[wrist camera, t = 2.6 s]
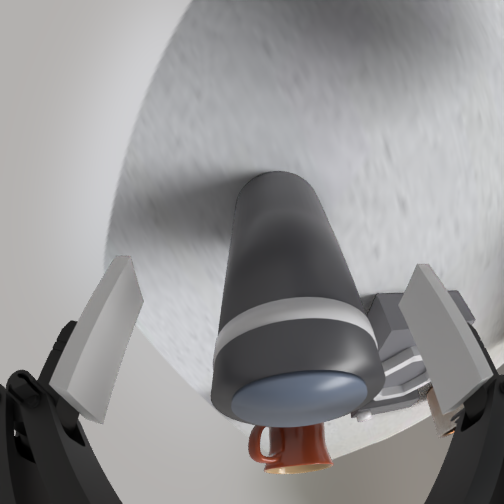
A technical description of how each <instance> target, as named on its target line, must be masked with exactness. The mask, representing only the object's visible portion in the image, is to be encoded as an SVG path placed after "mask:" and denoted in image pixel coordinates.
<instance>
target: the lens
mask: <svg viewBox="0 0 504 504" xmlns="http://www.w3.org/2000/svg"><path fill="white" fill-rule="evenodd" d="M213 370H214V372H213V381H212V390H211V401H212V403H213V405H214V406H215V408H216V409H217V410H218V411H220V412H221V413H222V414H224V415H226V416H228V417H230V418H232V419H235V420H237V421H240V422H244V423H248V424H252V425H258V426H267V427H300V426H308V425H313V424H318V423H322V422H326V421H330V420H333V419H336V418H339V417H342V416H344V415H347V414H349V413H351V412H354V411H356V410H357V409H359V408H361V407H363V406H364V405H366V404H367V403H369V402H370V401H371V400H373V399H374V398H375V397H376V396H377V395H378V394H379V393H380V391H381V390H382V388H383V387H384V385H385V381H386V378H385V373H384V369H383V366H382V362H381V359H380V356H379V353H378V345H377V341H376V338H375V335H374V332H373V329H372V326H371V324H370V321H369V320H368V318H367V316H366V313H365V311H364V308H363V305H362V302H361V299H360V297H359V294H358V291H357V289H356V286H355V283H354V281H353V278H352V276H351V273H350V271H349V268H348V266H347V263H346V261H345V258H344V256H343V253H342V251H341V249H340V246H339V244H338V241H337V239H336V237H335V234H334V232H333V230H332V228H331V225H330V223H329V221H328V219H327V216H326V214H325V212H324V210H323V208H322V205H321V203H320V201H319V199H318V197H317V195H316V193H315V191H314V189H313V188H312V187H311V185H310V184H309V183H308V182H307V181H305V180H304V179H303V178H301V177H299V176H298V175H295V174H293V173H289V172H282V171H274V172H268V173H264V174H262V175H259V176H257V177H255V178H254V179H252V180H251V181H250V182H248V183H247V184H246V185H245V187H244V188H243V189H242V191H241V192H240V194H239V197H238V199H237V203H236V209H235V216H234V222H233V229H232V236H231V242H230V249H229V256H228V263H227V270H226V278H225V285H224V292H223V300H222V307H221V315H220V323H219V331H218V337H217V339H216V343H215V350H214V358H213Z"/></svg>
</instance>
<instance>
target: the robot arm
mask: <svg viewBox="0 0 504 504" xmlns="http://www.w3.org/2000/svg"><path fill="white" fill-rule="evenodd" d="M143 302H144V301H143V297H142V294H141V291H140V287H139V284H138V281H137V277H136V274H135V270H134V266H133V263H132V259H131V256H116V257H115V258H114V260H113V261H112V263H111V264H110V266H109V268H108V269H107V271H106V273H105V274H104V276H103V278H102V279H101V281H100V283H99V284H98V286H97V288H96V290H95V291H94V293H93V295H92V297H91V298H90V300H89V302H88V304H87V305H86V307H85V309H84V311H83V313H82V315H81V317H80V318H79V320H78V322H77V321H70V322H69V323H68V324H67V325H66V326H65V327H64V328H63V329H62V330H61V332H60V334H59V336H58V338H57V342H55V344H54V346H53V350H52V351H51V352H50V354H49V356H48V358H47V360H46V363H45V365H44V367H43V369H42V371H41V374H40V376H39V378H38V380H35V378H34V377H33V376H32V375H31V374H30V373H29V372H28V371H25V370H18V371H16V372H14V373H13V374H12V375H11V376H10V378H9V379H8V382H7V384H6V389H5V388H4V387H3V386H2V385H1V384H0V504H122V502H121V501H120V499H119V497H118V496H117V494H116V493H115V491H114V489H113V488H112V486H111V484H110V483H109V481H108V479H107V477H106V475H105V474H104V472H103V470H102V468H101V466H100V464H99V462H98V460H97V458H96V456H95V454H94V452H93V450H92V448H91V446H90V444H89V442H88V439H87V437H86V435H85V433H84V430H83V428H82V425H81V423H80V422H79V420H78V416H79V413H80V414H81V415H82V416H83V417H84V418H86V419H88V420H90V421H94V422H97V423H100V424H103V422H104V418H105V415H106V411H107V407H108V404H109V401H110V397H111V394H112V391H113V387H114V384H115V381H116V378H117V375H118V372H119V368H120V365H121V362H122V359H123V356H124V354H125V350H126V348H127V345H128V342H129V339H130V337H131V334H132V331H133V328H134V326H135V323H136V320H137V318H138V315H139V313H140V310H141V307H142V305H143ZM398 306H399V308H400V310H401V312H402V314H403V316H404V318H405V320H406V323H407V325H408V327H409V329H410V331H411V334H412V336H413V338H414V340H415V343H416V345H417V347H418V350H419V352H420V355H421V357H422V360H423V362H424V365H425V367H426V370H427V372H428V375H429V377H430V380H431V383H432V386H433V388H434V391H435V394H436V397H437V400H438V403H439V406H440V409H441V412H442V415H443V414H446V413H448V412H451V411H454V410H455V409H457V408H458V407H459V406H460V405H461V404H463V405H464V408H463V409H461V410H460V411H459V412H458V413H456V414H455V415H454V416H453V417H452V418H451V420H450V421H453V420H455V419H456V418H457V417H459V418H458V419H457V420H456V421H455V422H454V423H456V424H457V425H456V429H455V432H454V435H453V438H452V441H451V444H450V447H449V450H448V452H447V455H446V457H445V460H444V463H443V465H442V467H441V470H440V472H439V474H438V477H437V479H436V481H435V483H434V485H433V487H432V490H431V492H430V494H429V496H428V498H427V500H426V502H425V503H424V504H504V375H499V374H498V372H497V371H496V368H495V366H494V364H493V362H492V360H491V358H490V356H489V354H488V352H487V350H486V348H484V344H483V342H482V341H480V337H479V335H478V333H477V331H476V330H475V329H474V328H473V327H472V326H471V325H470V323H469V322H466V321H465V319H464V317H463V315H462V314H461V312H460V310H459V309H458V307H457V306H456V304H455V302H454V301H453V299H452V298H451V296H450V294H449V293H448V291H447V290H446V288H445V287H444V285H443V284H442V282H441V281H440V279H439V278H438V276H437V275H436V274H435V272H434V271H433V269H432V268H431V267H430V265H429V264H417V265H416V268H415V270H414V272H413V275H412V277H411V279H410V281H409V284H408V286H407V288H406V290H405V292H404V294H403V296H402V299H401V301H400V303H399V305H398ZM14 430H16V435H15V436H14Z"/></svg>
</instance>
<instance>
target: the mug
mask: <svg viewBox="0 0 504 504" xmlns="http://www.w3.org/2000/svg"><path fill="white" fill-rule="evenodd" d="M265 427H267V426H258V425H255V427H254V428H253V430H252V431H251V434H250V437H249V444H248V450H249V454H250V456H251V458H252V459H253V460H254V461H256V462H259V463H266V465H265V468H264V472H266V473H272V474H295V473H305V472H312V471H317V470H322V469H325V468H329V467H331V466H333V461H332V459H331V457H330V455H329V453H328V450H327V447H326V443H325V431H324V422H322V423H318V424H313V425H308V426H300V427H269V439H270V451H269V456H268V457H266V456H263V455H262V454H261V452H260V438H261V433H262V431H263V429H264V428H265Z"/></svg>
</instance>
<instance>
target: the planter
mask: <svg viewBox="0 0 504 504" xmlns="http://www.w3.org/2000/svg"><path fill="white" fill-rule="evenodd" d="M427 400H428V404H429V407H430V410H431V413H432V416H433V420H434V423H435V427H436V430H437V434H438V438H442V437H445V436H448V435H451V434H453V433H454V432H455V429H456V425H457V424H456V423H454V422H455V421H456V420H457V419H458V418H459V417H457V418H456V419H455V420H453V421H450V420H451V418H452V417H453V416H454V415H455V414H456V413H458V412H459V411H460V410H461V409H463V408H464V405H463V404H461V405H460V406H459V407H458V408H457V409H455V410H454V411H451V412H448V413H446V414H443V415H442V412H441V409H440V406H439V403H438V400H437V397H436V394H435V391H434V388H433V387H432V388H431V389H430V390H429V392H428V394H427Z"/></svg>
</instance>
